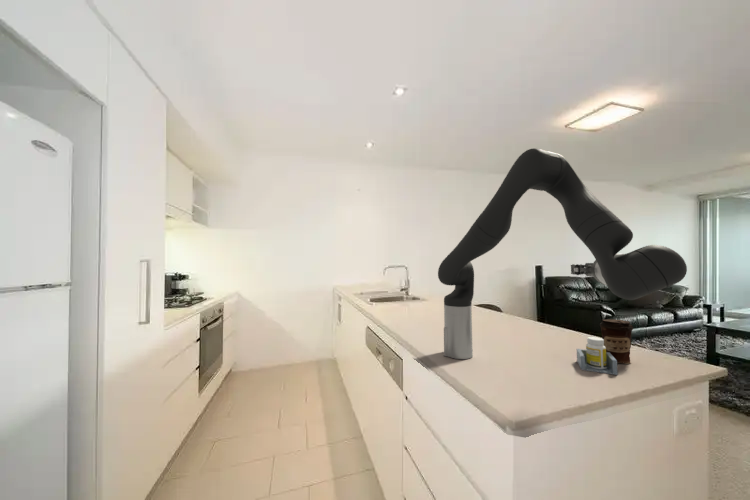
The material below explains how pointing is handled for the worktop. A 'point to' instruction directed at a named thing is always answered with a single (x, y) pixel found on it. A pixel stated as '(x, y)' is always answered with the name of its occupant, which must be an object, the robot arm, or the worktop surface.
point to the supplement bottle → (596, 353)
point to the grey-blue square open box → (583, 365)
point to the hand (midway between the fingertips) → (600, 269)
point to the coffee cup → (617, 338)
